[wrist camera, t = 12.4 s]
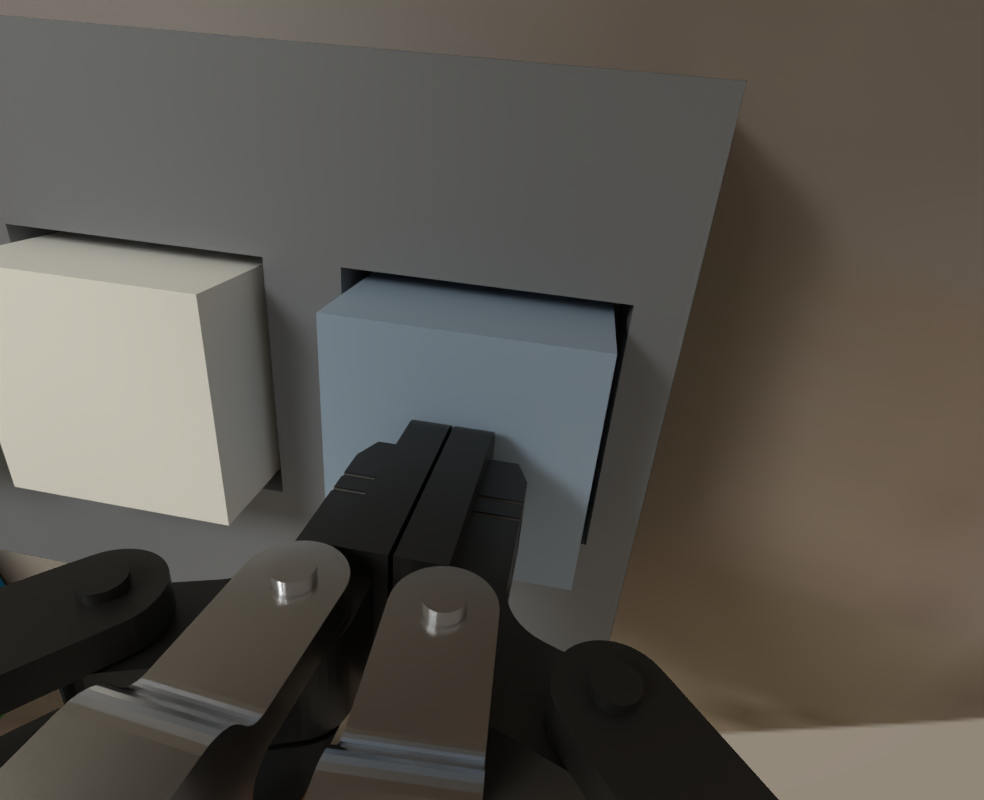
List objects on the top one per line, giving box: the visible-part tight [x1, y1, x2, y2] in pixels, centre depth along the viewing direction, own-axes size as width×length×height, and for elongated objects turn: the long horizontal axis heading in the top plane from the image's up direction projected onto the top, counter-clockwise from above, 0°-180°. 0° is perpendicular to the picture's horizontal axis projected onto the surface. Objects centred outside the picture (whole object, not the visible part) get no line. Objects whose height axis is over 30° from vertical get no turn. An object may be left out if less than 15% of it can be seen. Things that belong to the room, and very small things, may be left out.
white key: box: [0, 231, 281, 526], centre depth 13 cm, size 5×5×3 cm
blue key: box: [316, 272, 617, 590], centre depth 12 cm, size 5×5×3 cm
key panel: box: [0, 15, 747, 652], centre depth 15 cm, size 13×22×4 cm, turn 85°
